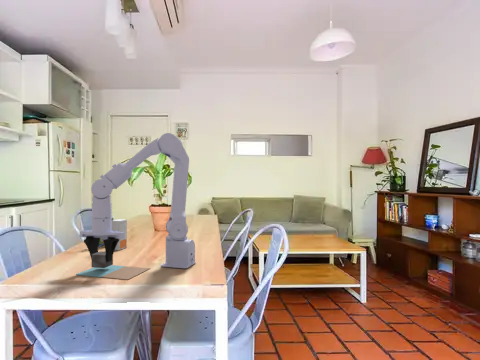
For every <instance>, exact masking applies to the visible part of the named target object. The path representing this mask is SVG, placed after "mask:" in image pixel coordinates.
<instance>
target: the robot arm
mask: <svg viewBox="0 0 480 360" xmlns="http://www.w3.org/2000/svg"><path fill="white" fill-rule="evenodd" d="M160 154H163V156H166V157H168V159H169V160H171V162H172V163H173V164H174V165H173V166H174V168H173V169H174V170H173V180H172V192H171V194H172V195H171V203H170V204H171V205H170V212H169V216H168V219H167V221H166V223H165V231H166V232H167V233H168V234H167V236H165V262H164V263H161V264H160V267H162V268H176V269H188V268H190V267H192V266H193V265H195V264H196V262H197V261H196V243H195V241H194V240H193V239H189V238H188V236H187V235H188V232H189V227H188V225H187V215H186V205H187V204H186V202H187V193H188V180H189V168H190V158H189V155H188V153H187V151H186V150H185V148H184V145H183V142H182V140H181V139H180V138H179V137H178V136H176V135H175V134H174V133H171V132H165V133H164V134H162V135H161V136H160V137H157V138H155V139H154V140H152V141H151V142H149V143H148V144H146V145H145V146H144V147H143V148H142V149H140V150H139V151H138V152H136V154H135V155H134V156H132V157H131V158H130V159H129V160H128V161H126V162H124V163H123V162H119V163H117V164H116V163H114V164H112V166H111V169H110V170H108V171H107V172H106V173H105V174H101V175H100V176H99V178H100V179H96V180H95V181H94V182H93V183H92V184H91V188H90V189H91V190H90V191H91V193H92V198H91V201H92V203H91V229H90V230H87V229H84V230H80V231H79V238H85V239H83V243H84V244H85V246H86V247H87V250H88V252H89V255H90V260H91V261H92V254H94V253H97V252H99V247H98V246H99V241H100V238H108V239H105V240H103V242H104V245H105V246H104V252H106V262H109V261H111V260H112V257H113V258H114V252H115V251H116V250H115V247H116V245H117V243H118V242H119V239H123V238H124V232H119V231H112V218H113V217H112V216H113V215H112V206H113V205H112V202H111V201H112V200H111V198H112V197H111V194H112V192H113V190H117V189H119V187H121V186H122V185H123V184H124V183H125V182H126V181H128V180H129V179H130V178H131V177H132V174H133V170H134V169H136V168H137V167H138V166H139V165H141V164H143V163H144V162H145V161H146V160H147V159H148V158H149V157H151V156H156V155H160Z"/></svg>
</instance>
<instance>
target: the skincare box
mask: <svg viewBox="0 0 480 360" xmlns="http://www.w3.org/2000/svg"><path fill="white" fill-rule="evenodd" d="M112 231H119V232H124V238H123V239H119V242H118V243H117V245H116V247H115V250H114V251H120V250H123V249H127V246H128V245H127V244H128V240H127V239H128V235H127V233H128V219H121V218H118V219H117V218H116V219H113V221H112Z"/></svg>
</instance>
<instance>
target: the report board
mask: <svg viewBox="0 0 480 360" xmlns="http://www.w3.org/2000/svg"><path fill="white" fill-rule="evenodd" d="M148 270H151V268H149V267H148V268H147V267H138V266H129V265H128V266H125V265H115V264H113V265H110V266H108V267H106V268H94V267H91V268H89V269H86V270H84V271H80V272H78V273H76V274H75V276H83V277H84V276H85V277H92V278H103V279H114V280H122V281H123V280H124V281H128V280H129V281H130V280H131V279H133V278H135V277H137V276H139V275H140V274H141V275H142V274H143V273H144V272H147V271H148Z"/></svg>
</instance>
